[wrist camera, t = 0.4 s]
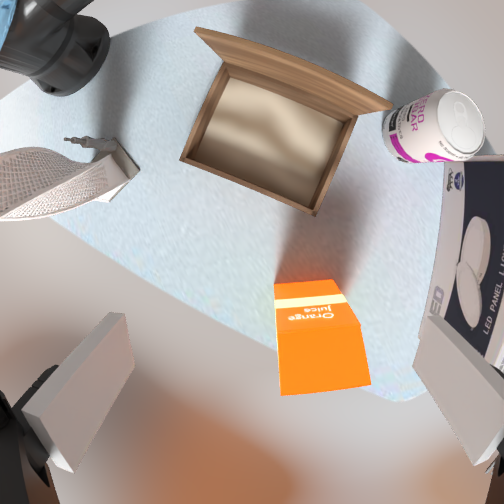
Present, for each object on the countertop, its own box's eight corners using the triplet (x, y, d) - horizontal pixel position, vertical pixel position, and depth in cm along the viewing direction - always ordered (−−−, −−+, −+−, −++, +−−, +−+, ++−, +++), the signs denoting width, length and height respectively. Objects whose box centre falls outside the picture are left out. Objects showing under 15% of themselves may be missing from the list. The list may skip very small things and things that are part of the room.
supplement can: (430, 163, 38) (493, 161, 23) (384, 164, 39) (438, 160, 24) (423, 111, 36) (481, 90, 22) (376, 109, 37) (425, 81, 22)
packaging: (444, 156, 38) (535, 154, 18) (471, 163, 37) (560, 166, 18) (417, 337, 45) (473, 408, 25) (443, 335, 45) (502, 399, 25)
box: (309, 212, 41) (315, 217, 36) (189, 162, 40) (179, 160, 35) (348, 122, 37) (358, 115, 33) (228, 73, 37) (223, 61, 32)
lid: (356, 115, 32) (391, 109, 20) (224, 62, 31) (193, 31, 19) (357, 111, 32) (393, 104, 20) (226, 58, 31) (195, 26, 19)
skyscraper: (145, 178, 41) (-6, 190, 13) (110, 214, 42) (-38, 263, 15) (114, 138, 39) (-36, 114, 12) (81, 174, 41) (-67, 189, 14)
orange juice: (273, 283, 43) (277, 362, 24) (333, 278, 43) (378, 350, 23) (276, 330, 45) (281, 424, 26) (333, 325, 45) (368, 413, 25)
